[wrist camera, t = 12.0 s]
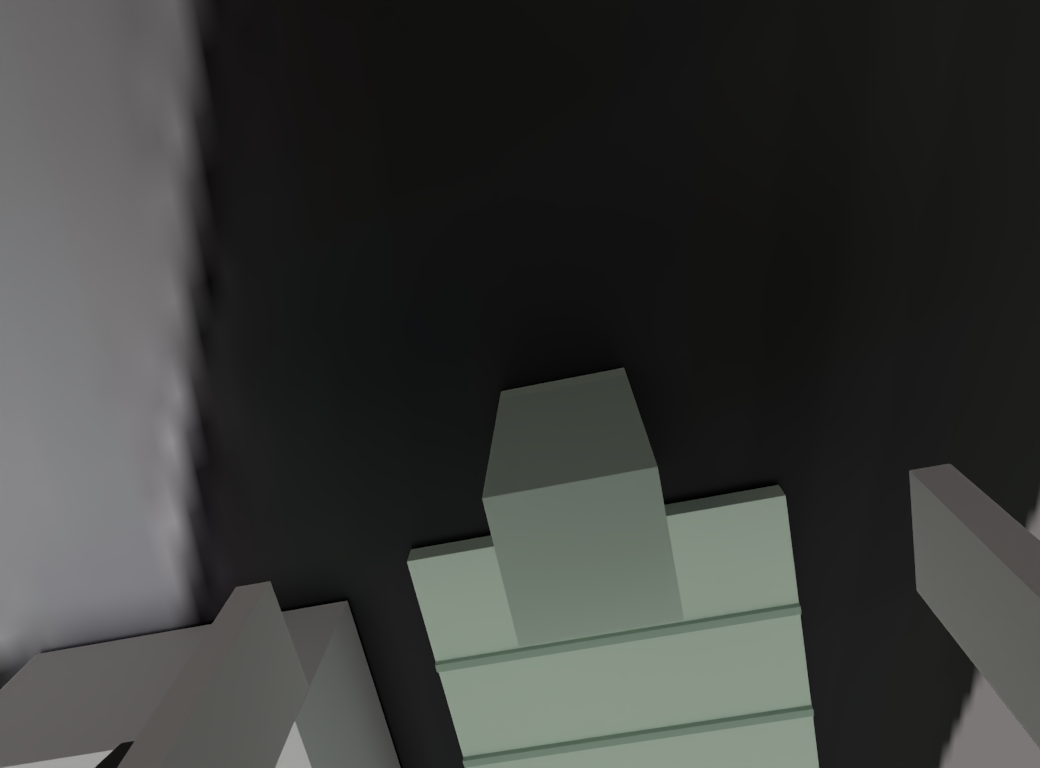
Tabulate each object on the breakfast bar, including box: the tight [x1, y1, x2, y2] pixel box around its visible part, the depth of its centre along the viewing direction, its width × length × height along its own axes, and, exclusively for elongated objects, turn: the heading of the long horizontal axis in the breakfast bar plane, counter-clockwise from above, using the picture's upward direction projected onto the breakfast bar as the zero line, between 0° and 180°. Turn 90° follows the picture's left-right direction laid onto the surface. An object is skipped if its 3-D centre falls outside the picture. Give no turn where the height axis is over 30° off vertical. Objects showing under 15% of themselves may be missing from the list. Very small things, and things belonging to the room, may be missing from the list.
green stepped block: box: [407, 368, 819, 768], centre depth 24 cm, size 18×13×8 cm
